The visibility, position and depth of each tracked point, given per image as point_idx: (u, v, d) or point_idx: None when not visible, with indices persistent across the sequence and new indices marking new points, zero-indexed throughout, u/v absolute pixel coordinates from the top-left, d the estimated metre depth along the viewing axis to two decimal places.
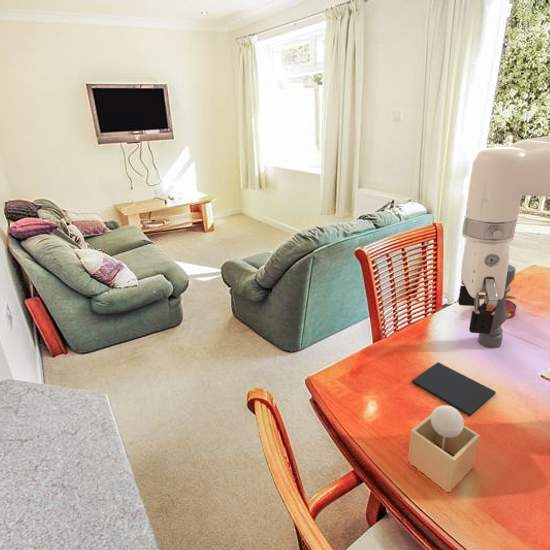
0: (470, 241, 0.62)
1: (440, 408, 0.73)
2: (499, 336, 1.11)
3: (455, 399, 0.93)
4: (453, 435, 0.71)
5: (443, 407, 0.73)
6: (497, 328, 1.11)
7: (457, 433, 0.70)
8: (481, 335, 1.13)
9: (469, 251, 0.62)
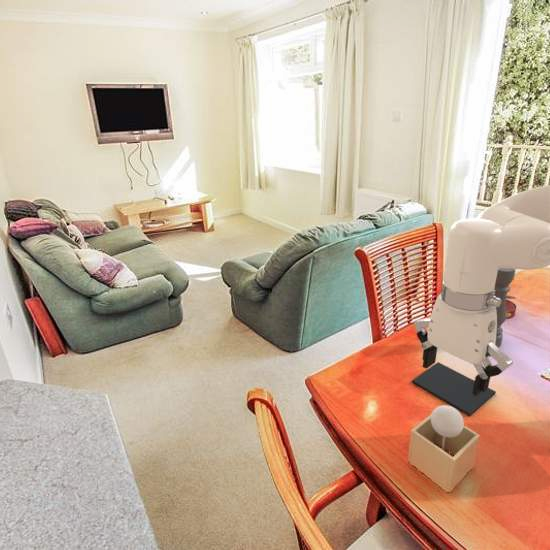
0: (460, 313, 0.61)
1: (440, 408, 0.73)
2: (499, 336, 1.11)
3: (455, 399, 0.93)
4: (453, 435, 0.71)
5: (443, 407, 0.73)
6: (497, 328, 1.11)
7: (457, 433, 0.70)
8: None
9: (460, 322, 0.61)
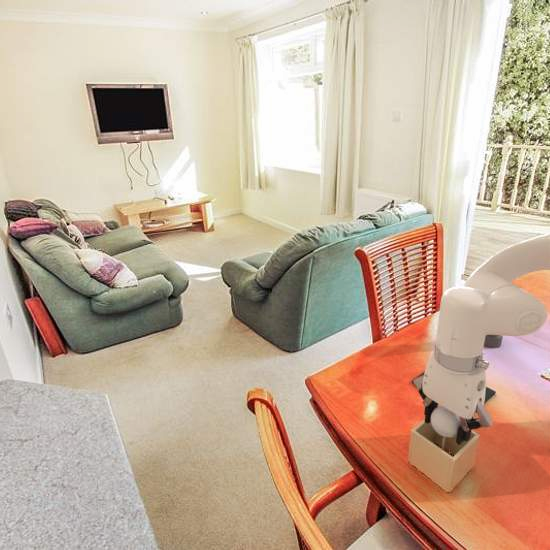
0: (451, 372, 0.66)
1: (440, 408, 0.73)
2: (499, 336, 1.11)
3: None
4: (453, 435, 0.71)
5: (443, 407, 0.73)
6: None
7: None
8: None
9: (451, 380, 0.66)
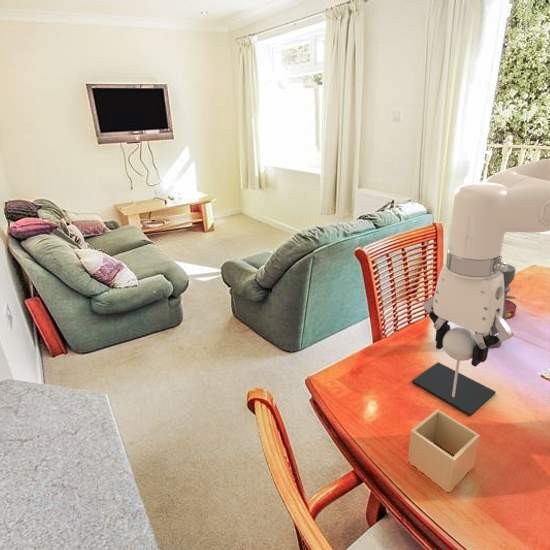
0: (466, 280, 0.59)
1: (453, 329, 0.66)
2: None
3: (455, 399, 0.93)
4: (468, 356, 0.64)
5: (456, 328, 0.66)
6: None
7: (472, 354, 0.64)
8: None
9: (466, 290, 0.60)
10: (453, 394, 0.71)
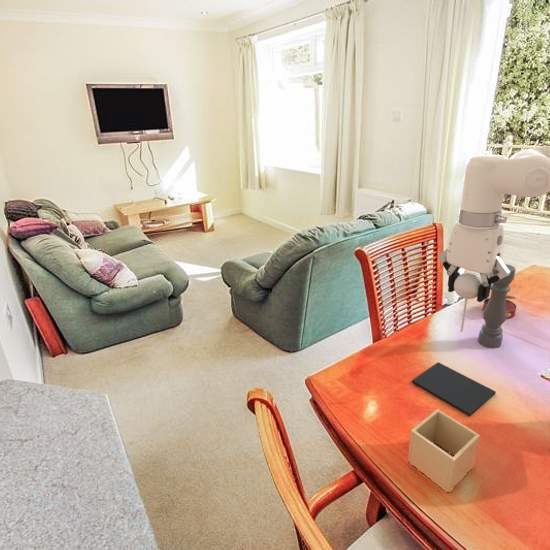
0: (474, 231, 0.76)
1: (462, 274, 0.83)
2: (499, 336, 1.11)
3: (455, 399, 0.93)
4: (474, 294, 0.81)
5: (465, 273, 0.83)
6: (497, 328, 1.11)
7: None
8: (481, 335, 1.13)
9: (474, 239, 0.77)
10: (461, 329, 0.88)
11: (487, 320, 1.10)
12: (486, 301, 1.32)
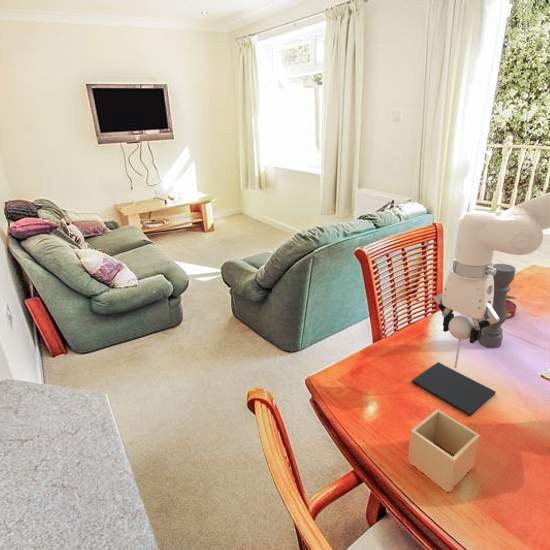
0: (466, 280, 0.83)
1: (456, 316, 0.90)
2: (499, 336, 1.11)
3: (455, 399, 0.93)
4: (467, 336, 0.88)
5: (459, 315, 0.90)
6: (497, 328, 1.11)
7: (470, 334, 0.88)
8: (481, 335, 1.13)
9: (466, 287, 0.84)
10: (455, 366, 0.95)
11: None
12: None
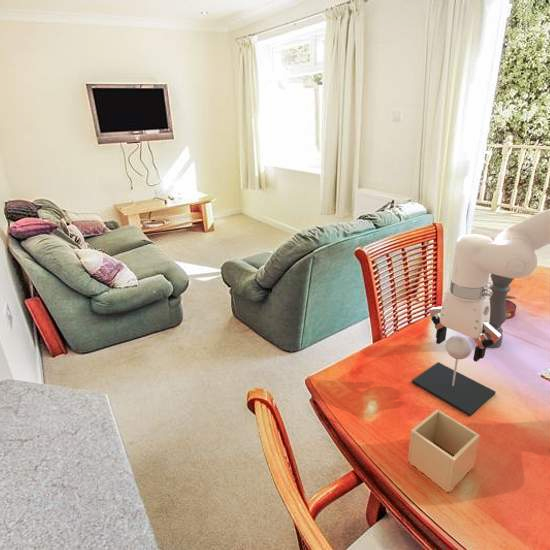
0: (463, 301, 0.85)
1: (453, 337, 0.93)
2: None
3: (455, 399, 0.93)
4: (464, 356, 0.90)
5: (456, 336, 0.92)
6: (497, 328, 1.11)
7: (467, 354, 0.90)
8: None
9: (463, 308, 0.86)
10: (453, 384, 0.97)
11: None
12: None
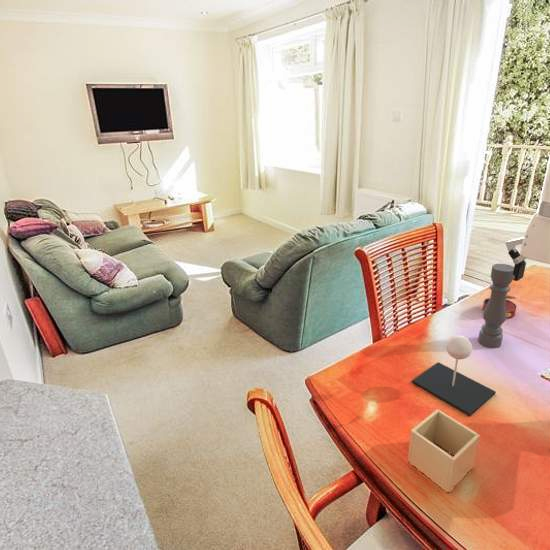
0: None
1: (453, 337, 0.92)
2: (499, 336, 1.11)
3: (455, 399, 0.93)
4: (464, 356, 0.90)
5: (456, 336, 0.92)
6: (497, 328, 1.11)
7: (467, 354, 0.90)
8: (481, 335, 1.13)
9: None
10: (453, 384, 0.97)
11: (487, 320, 1.10)
12: (486, 301, 1.32)
